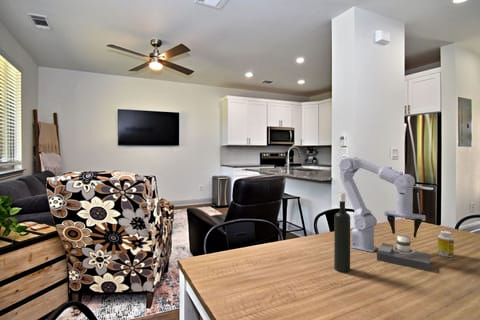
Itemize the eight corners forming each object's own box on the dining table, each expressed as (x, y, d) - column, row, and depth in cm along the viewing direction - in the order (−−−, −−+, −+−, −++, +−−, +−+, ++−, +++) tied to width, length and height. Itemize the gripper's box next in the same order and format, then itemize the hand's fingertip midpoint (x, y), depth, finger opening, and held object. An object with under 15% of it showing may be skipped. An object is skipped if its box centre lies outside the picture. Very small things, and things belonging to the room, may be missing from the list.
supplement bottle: (450, 258, 112) (451, 234, 111) (435, 254, 116) (435, 231, 116) (455, 255, 115) (456, 232, 114) (440, 251, 119) (440, 229, 119)
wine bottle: (349, 267, 104) (349, 191, 103) (350, 273, 98) (351, 193, 97) (334, 265, 105) (334, 191, 105) (334, 271, 100) (334, 193, 99)
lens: (395, 253, 109) (395, 237, 109) (398, 250, 113) (398, 234, 113) (409, 256, 106) (409, 239, 106) (411, 253, 110) (411, 236, 110)
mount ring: (391, 254, 109) (391, 250, 109) (394, 248, 115) (394, 245, 115) (414, 258, 104) (414, 254, 104) (415, 252, 110) (415, 249, 110)
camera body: (376, 259, 111) (377, 250, 110) (382, 251, 120) (382, 242, 120) (429, 271, 100) (429, 260, 99) (430, 261, 109) (430, 251, 109)
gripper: (383, 202, 112) (383, 234, 112) (424, 206, 103) (424, 240, 103) (386, 200, 117) (386, 230, 118) (425, 203, 108) (425, 236, 109)
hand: (404, 235), depth 111 cm, fingers open, 7 cm apart
